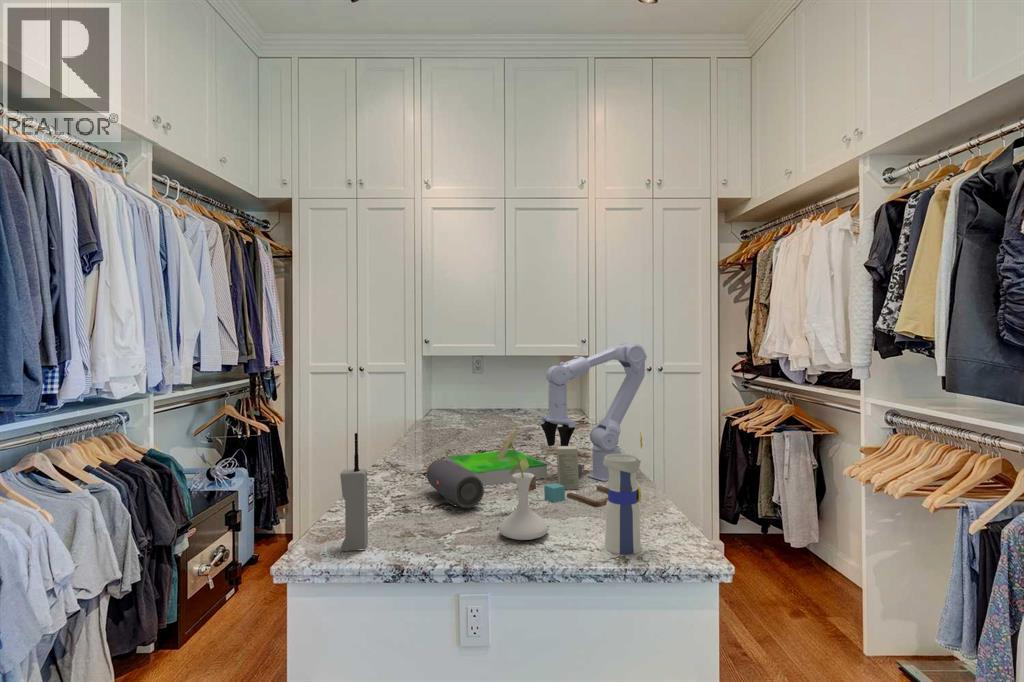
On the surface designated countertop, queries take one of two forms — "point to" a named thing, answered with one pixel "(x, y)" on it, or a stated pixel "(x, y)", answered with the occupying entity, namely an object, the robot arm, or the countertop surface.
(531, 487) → the walnut block
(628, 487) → the water bottle
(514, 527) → the flower in vase
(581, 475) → the charcoal block
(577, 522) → the countertop surface
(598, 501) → the frame
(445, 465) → the bluetooth speaker
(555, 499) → the teal block
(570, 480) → the skincare box
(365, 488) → the vintage mobile phone
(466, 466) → the tray
